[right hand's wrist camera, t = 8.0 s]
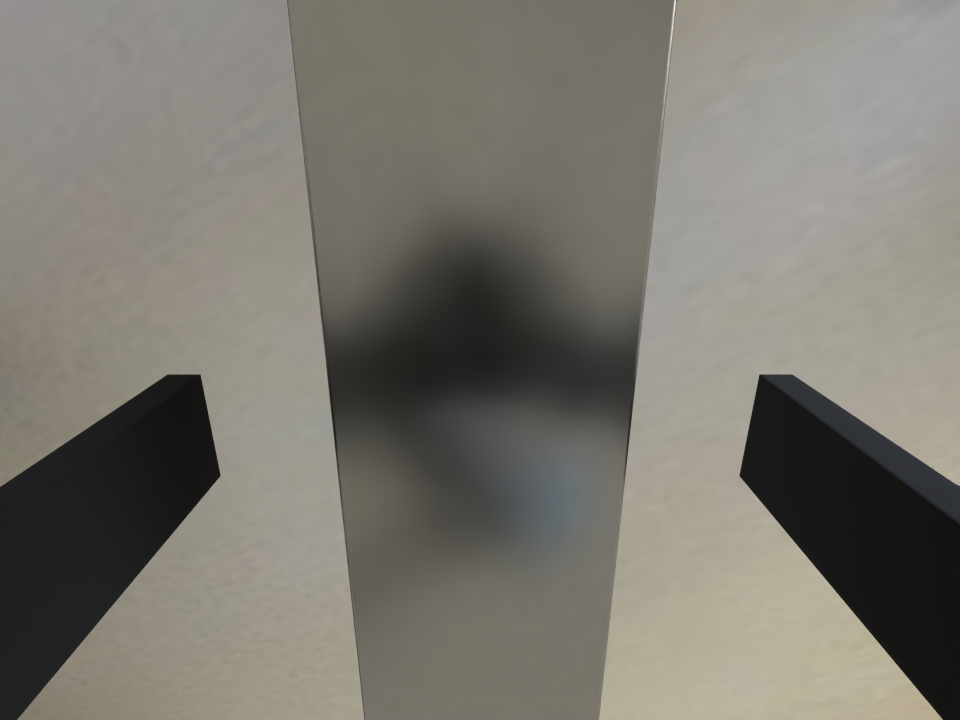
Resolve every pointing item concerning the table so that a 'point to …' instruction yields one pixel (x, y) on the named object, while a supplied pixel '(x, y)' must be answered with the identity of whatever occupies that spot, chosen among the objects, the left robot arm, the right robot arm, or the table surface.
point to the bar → (481, 330)
